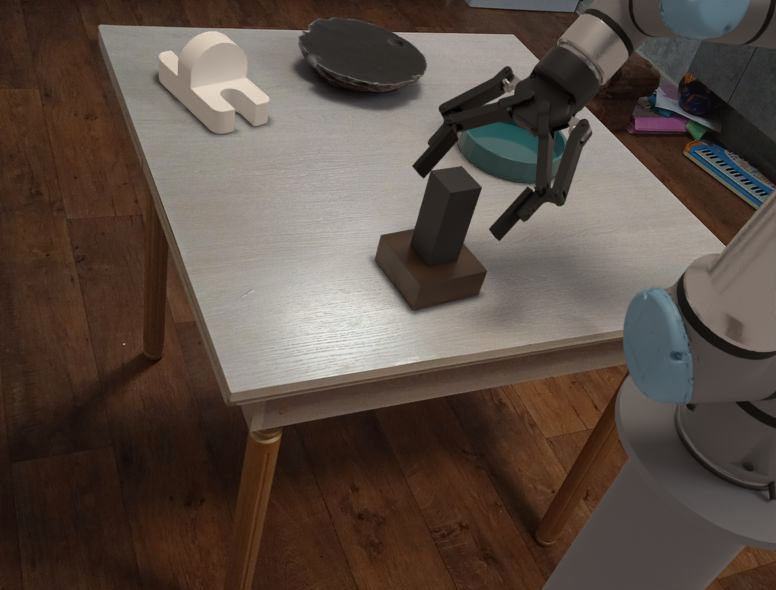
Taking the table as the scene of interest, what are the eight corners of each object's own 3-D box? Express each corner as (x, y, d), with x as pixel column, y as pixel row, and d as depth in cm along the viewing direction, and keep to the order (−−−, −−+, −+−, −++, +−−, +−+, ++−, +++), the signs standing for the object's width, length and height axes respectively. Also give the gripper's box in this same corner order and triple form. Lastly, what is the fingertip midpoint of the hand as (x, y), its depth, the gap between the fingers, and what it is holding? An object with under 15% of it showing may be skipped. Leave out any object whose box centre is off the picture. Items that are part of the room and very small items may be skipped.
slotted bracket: (153, 75, 127) (153, 13, 120) (207, 65, 133) (210, 5, 126) (215, 135, 119) (219, 72, 112) (271, 122, 124) (278, 61, 118)
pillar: (458, 260, 103) (482, 187, 96) (428, 266, 101) (450, 192, 93) (439, 238, 106) (461, 165, 98) (409, 244, 104) (430, 170, 96)
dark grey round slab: (401, 48, 151) (407, 21, 147) (437, 112, 137) (445, 84, 133) (282, 40, 144) (286, 12, 140) (308, 107, 130) (312, 77, 126)
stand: (478, 294, 106) (487, 270, 103) (413, 310, 101) (420, 285, 98) (438, 246, 111) (445, 222, 108) (374, 259, 106) (380, 234, 104)
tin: (581, 175, 132) (589, 156, 130) (496, 189, 124) (503, 169, 122) (520, 118, 142) (526, 99, 139) (437, 128, 133) (442, 108, 131)
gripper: (664, 136, 94) (536, 275, 96) (511, 36, 105) (399, 161, 107) (657, 102, 88) (520, 252, 89) (495, -1, 99) (376, 134, 101)
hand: (454, 203), depth 98 cm, fingers open, 13 cm apart
